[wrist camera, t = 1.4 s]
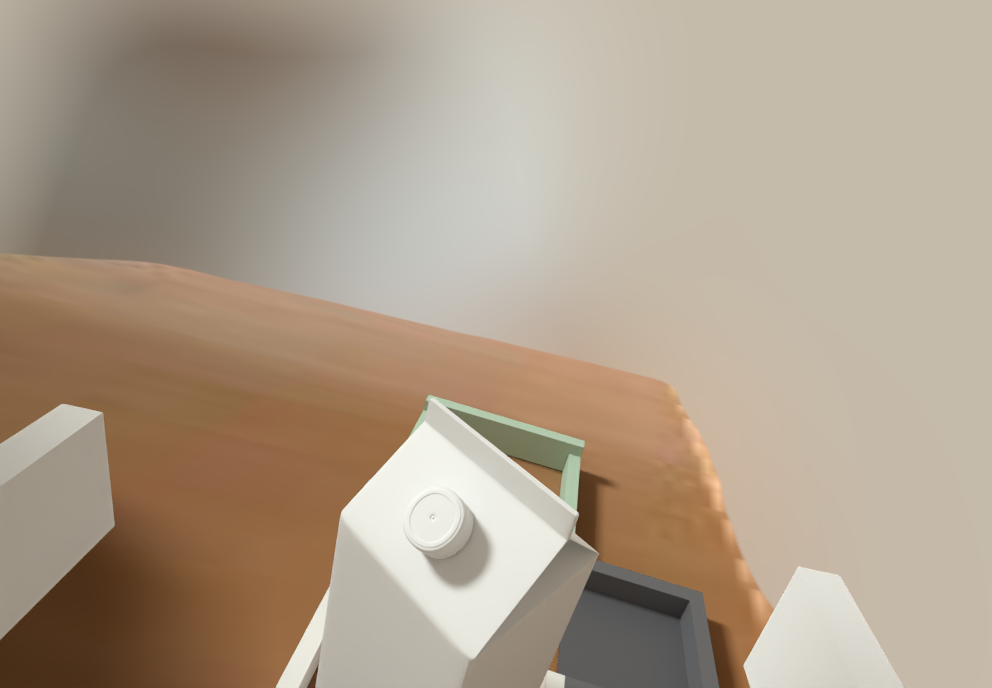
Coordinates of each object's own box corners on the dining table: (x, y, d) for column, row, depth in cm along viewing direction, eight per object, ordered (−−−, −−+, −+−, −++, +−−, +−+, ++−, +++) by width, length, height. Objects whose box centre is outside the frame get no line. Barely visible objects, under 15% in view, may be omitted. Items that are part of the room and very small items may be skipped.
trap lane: (-41, 1319, 15) (-66, 1306, 14) (423, 422, 52) (428, 394, 51) (851, 1674, 14) (922, 1699, 12) (673, 497, 51) (686, 471, 50)
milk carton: (419, 655, 33) (494, 375, 25) (508, 760, 29) (635, 474, 21) (305, 740, 28) (350, 426, 19) (396, 882, 24) (502, 569, 16)
